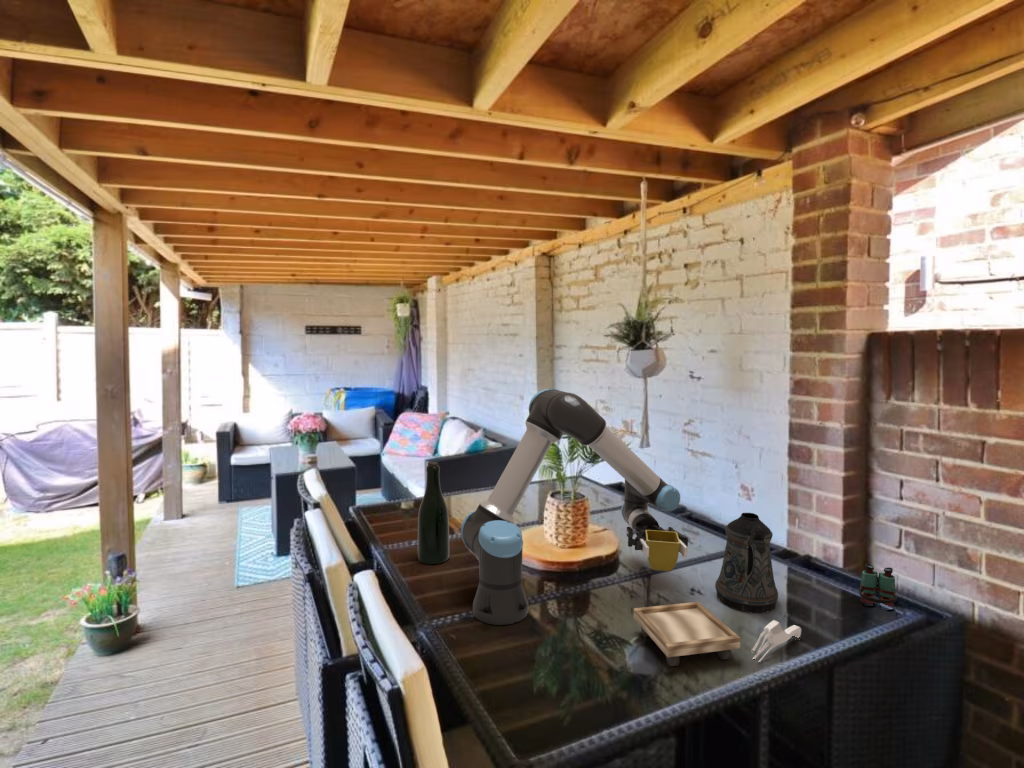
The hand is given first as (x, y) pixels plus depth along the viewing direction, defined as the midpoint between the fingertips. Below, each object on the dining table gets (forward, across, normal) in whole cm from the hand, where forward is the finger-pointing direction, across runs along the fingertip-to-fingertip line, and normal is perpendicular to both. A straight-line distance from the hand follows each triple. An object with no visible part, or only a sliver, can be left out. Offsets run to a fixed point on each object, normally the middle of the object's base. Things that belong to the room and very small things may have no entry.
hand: (666, 552), depth 150 cm
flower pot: (-4, 0, -6) cm, 8 cm away
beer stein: (-6, -26, -17) cm, 32 cm away
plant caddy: (+16, 0, -17) cm, 23 cm away
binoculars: (-3, -61, -17) cm, 64 cm away
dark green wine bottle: (-39, +66, -18) cm, 79 cm away
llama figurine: (+18, -21, -17) cm, 33 cm away
